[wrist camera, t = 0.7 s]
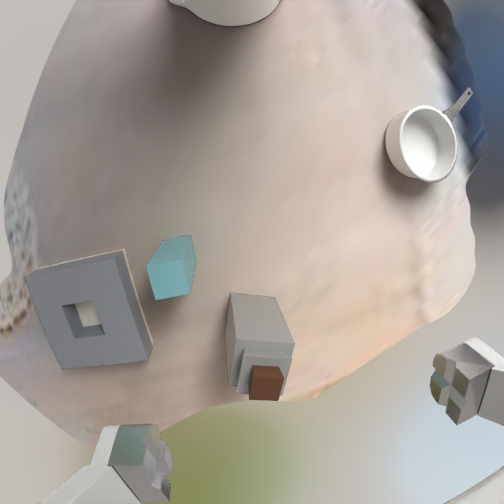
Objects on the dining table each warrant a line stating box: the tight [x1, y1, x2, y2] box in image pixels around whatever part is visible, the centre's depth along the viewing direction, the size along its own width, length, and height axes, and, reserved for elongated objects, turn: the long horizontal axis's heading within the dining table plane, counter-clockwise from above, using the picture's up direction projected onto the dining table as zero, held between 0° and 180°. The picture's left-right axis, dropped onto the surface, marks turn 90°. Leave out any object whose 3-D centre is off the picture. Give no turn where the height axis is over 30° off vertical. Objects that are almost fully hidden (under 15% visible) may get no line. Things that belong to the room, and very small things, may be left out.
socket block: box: [25, 248, 154, 369], centre depth 44 cm, size 16×16×5 cm
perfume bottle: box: [225, 293, 295, 401], centre depth 41 cm, size 7×7×18 cm
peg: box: [146, 235, 196, 300], centre depth 40 cm, size 4×4×12 cm
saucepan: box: [385, 88, 473, 183], centre depth 42 cm, size 12×20×6 cm, turn 138°
